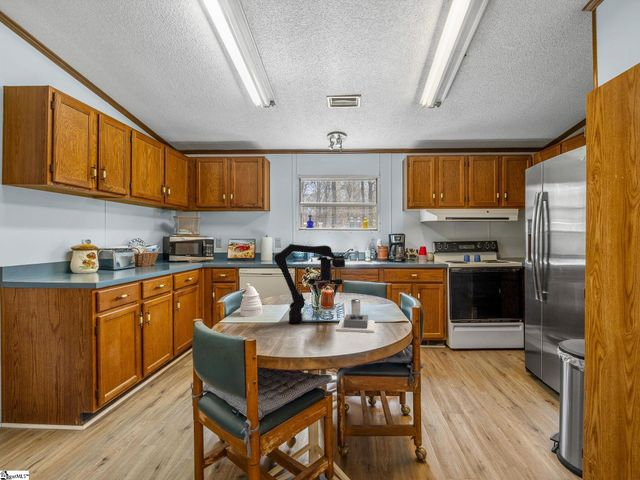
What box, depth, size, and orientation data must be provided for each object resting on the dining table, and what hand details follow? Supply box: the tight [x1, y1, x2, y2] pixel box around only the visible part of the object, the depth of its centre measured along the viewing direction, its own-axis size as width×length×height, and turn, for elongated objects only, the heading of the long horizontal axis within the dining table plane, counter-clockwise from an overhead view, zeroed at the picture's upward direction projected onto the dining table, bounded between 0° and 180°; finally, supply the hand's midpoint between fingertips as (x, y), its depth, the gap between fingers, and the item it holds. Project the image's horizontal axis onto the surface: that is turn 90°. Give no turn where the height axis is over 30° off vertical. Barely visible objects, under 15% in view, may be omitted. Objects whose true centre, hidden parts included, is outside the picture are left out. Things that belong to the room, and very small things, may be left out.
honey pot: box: [239, 283, 263, 318], centre depth 195 cm, size 13×13×18 cm
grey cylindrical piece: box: [350, 298, 362, 320], centre depth 166 cm, size 4×4×12 cm
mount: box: [336, 313, 376, 333], centre depth 166 cm, size 18×18×4 cm
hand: (326, 296), depth 178 cm, fingers open, 9 cm apart
